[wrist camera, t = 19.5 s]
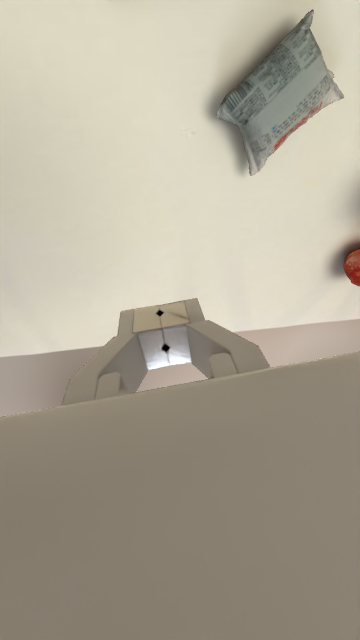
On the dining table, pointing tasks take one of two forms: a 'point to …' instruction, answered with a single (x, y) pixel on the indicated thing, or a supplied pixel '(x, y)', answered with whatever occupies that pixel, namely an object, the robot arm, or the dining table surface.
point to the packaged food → (280, 94)
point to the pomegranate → (353, 267)
